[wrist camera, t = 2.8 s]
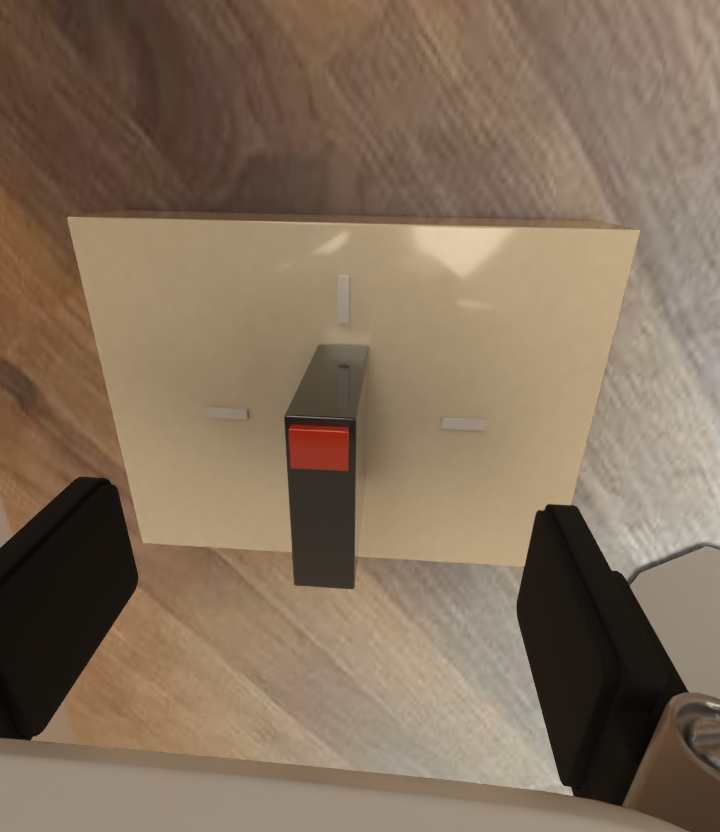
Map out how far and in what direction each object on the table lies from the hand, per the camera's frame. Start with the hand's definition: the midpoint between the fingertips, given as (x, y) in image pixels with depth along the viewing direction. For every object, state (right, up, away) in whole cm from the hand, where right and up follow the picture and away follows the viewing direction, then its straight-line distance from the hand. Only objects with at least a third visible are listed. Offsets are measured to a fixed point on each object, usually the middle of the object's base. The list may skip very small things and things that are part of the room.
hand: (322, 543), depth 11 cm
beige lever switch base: (0, +4, +8) cm, 9 cm away
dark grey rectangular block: (0, +3, +5) cm, 6 cm away
